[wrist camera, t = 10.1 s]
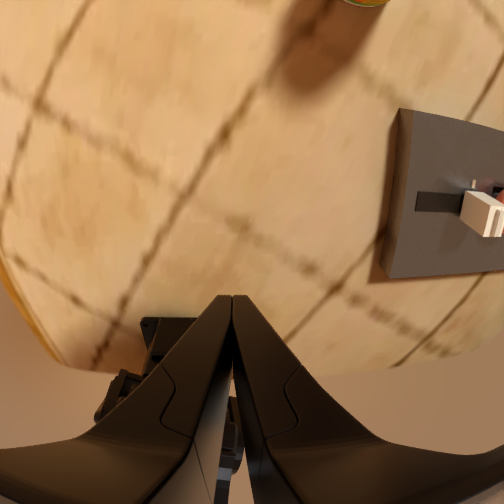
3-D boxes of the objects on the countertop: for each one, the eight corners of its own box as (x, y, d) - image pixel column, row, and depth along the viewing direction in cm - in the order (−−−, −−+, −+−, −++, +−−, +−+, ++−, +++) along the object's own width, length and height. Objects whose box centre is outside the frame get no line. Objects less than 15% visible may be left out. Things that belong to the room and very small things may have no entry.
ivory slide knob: (477, 219, 20) (504, 239, 16) (459, 219, 19) (486, 239, 16) (483, 192, 18) (512, 209, 15) (465, 190, 18) (494, 207, 15)
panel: (529, 256, 24) (541, 266, 22) (379, 265, 24) (389, 279, 22) (554, 149, 19) (568, 155, 17) (399, 108, 18) (414, 110, 16)
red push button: (499, 220, 22) (523, 238, 18) (473, 219, 21) (498, 238, 18) (507, 182, 20) (534, 196, 17) (481, 178, 20) (509, 192, 17)
